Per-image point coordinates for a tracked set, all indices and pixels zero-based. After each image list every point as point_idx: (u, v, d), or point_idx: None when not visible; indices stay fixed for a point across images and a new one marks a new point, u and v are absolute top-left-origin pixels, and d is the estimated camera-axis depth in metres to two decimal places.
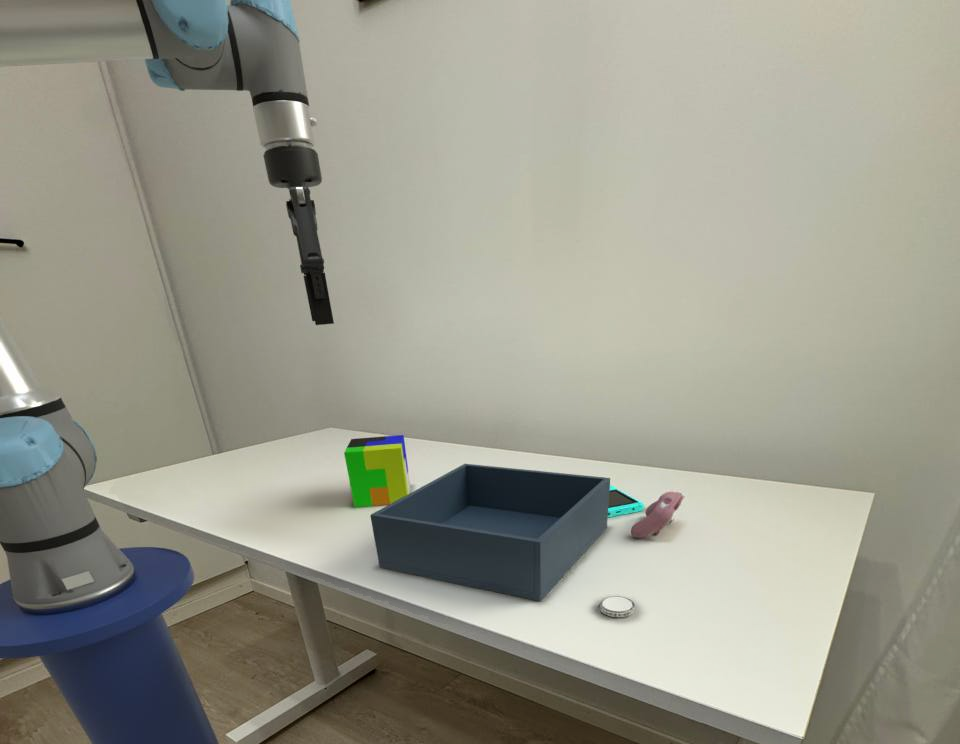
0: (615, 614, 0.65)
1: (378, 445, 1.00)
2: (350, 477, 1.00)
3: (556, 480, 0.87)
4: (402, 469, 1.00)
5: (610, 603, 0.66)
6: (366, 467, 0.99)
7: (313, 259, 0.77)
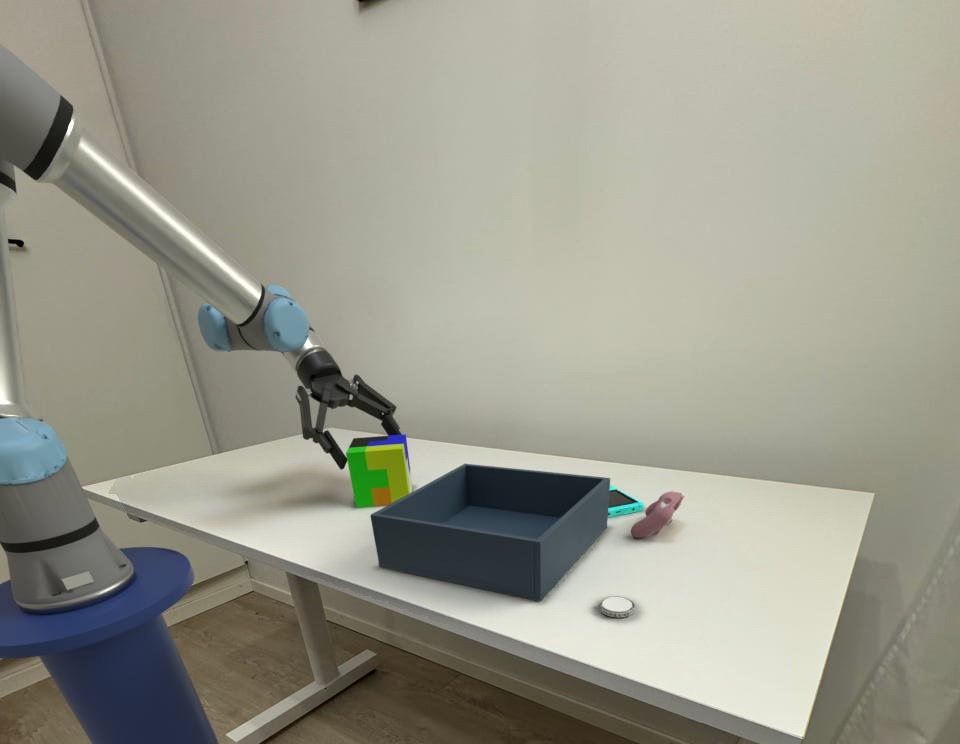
0: (615, 614, 0.65)
1: (380, 445, 1.00)
2: (352, 477, 1.00)
3: (556, 480, 0.87)
4: (404, 470, 1.00)
5: (610, 603, 0.66)
6: (368, 467, 0.99)
7: None
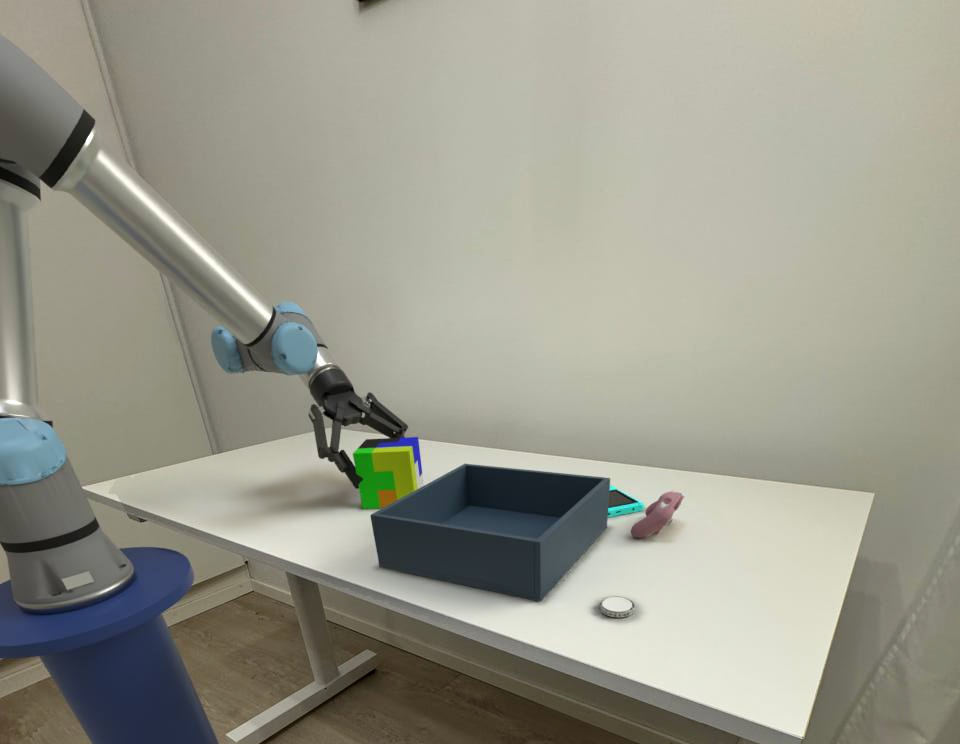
0: (615, 614, 0.65)
1: (388, 447, 0.99)
2: None
3: (556, 480, 0.87)
4: (410, 472, 0.98)
5: (610, 603, 0.66)
6: (374, 468, 0.98)
7: None
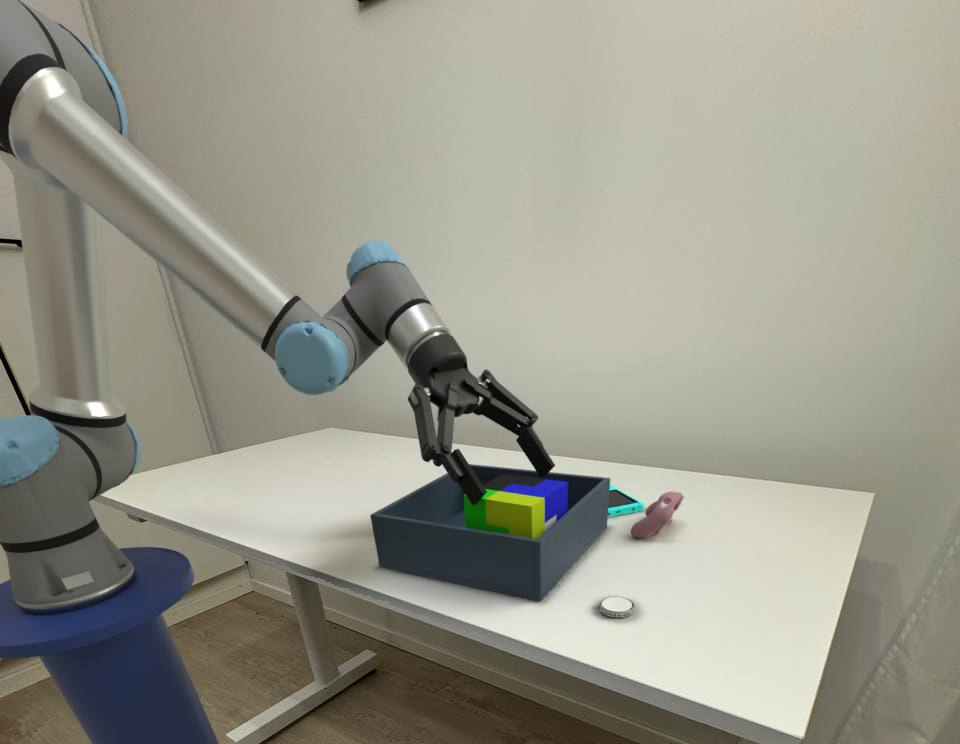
0: (615, 614, 0.65)
1: (514, 493, 0.71)
2: None
3: (556, 480, 0.87)
4: (530, 535, 0.69)
5: (610, 603, 0.66)
6: (487, 520, 0.71)
7: None
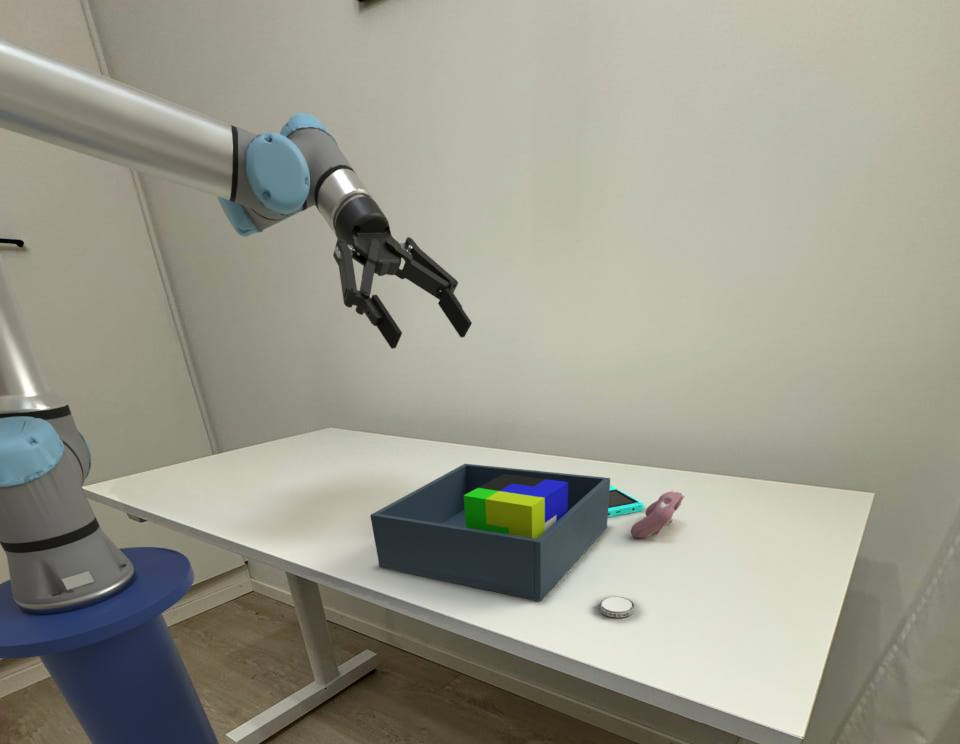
0: (614, 614, 0.65)
1: (514, 493, 0.71)
2: None
3: (556, 480, 0.87)
4: (530, 535, 0.69)
5: (610, 603, 0.66)
6: (487, 520, 0.71)
7: None
